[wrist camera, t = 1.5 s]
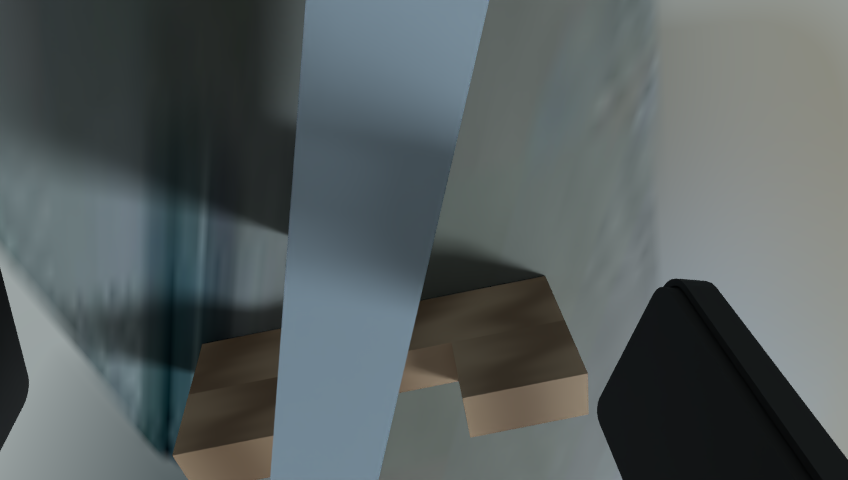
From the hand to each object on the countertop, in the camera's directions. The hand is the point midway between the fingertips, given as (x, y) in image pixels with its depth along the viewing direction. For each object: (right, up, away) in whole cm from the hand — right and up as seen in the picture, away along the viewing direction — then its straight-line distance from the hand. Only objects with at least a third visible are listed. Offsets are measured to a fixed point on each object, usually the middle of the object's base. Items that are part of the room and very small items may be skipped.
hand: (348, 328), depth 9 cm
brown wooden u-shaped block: (-1, -3, +20) cm, 20 cm away
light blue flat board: (-2, +8, +12) cm, 15 cm away
